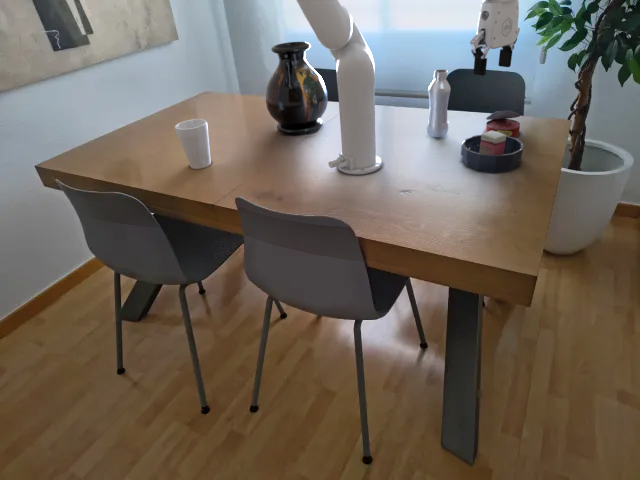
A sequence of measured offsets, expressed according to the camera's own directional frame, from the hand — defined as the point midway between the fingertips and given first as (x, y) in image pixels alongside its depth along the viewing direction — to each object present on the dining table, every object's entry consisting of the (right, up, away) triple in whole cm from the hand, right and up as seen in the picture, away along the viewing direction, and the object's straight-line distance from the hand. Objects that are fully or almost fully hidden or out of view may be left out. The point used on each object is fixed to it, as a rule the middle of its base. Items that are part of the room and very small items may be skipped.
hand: (492, 70), depth 112 cm
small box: (+4, -21, +11) cm, 24 cm away
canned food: (+14, -9, +28) cm, 32 cm away
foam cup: (-81, -19, +28) cm, 88 cm away
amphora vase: (-50, -3, +48) cm, 70 cm away
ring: (+4, -21, +11) cm, 24 cm away
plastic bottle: (-6, -10, +30) cm, 32 cm away
